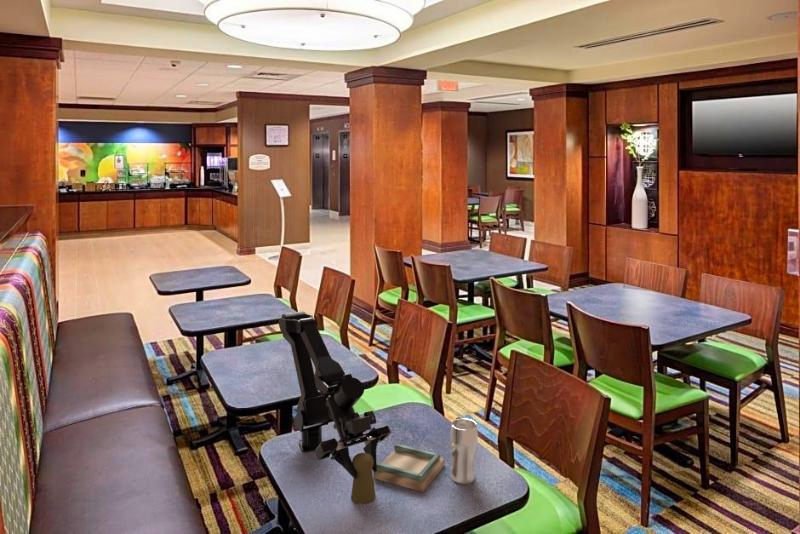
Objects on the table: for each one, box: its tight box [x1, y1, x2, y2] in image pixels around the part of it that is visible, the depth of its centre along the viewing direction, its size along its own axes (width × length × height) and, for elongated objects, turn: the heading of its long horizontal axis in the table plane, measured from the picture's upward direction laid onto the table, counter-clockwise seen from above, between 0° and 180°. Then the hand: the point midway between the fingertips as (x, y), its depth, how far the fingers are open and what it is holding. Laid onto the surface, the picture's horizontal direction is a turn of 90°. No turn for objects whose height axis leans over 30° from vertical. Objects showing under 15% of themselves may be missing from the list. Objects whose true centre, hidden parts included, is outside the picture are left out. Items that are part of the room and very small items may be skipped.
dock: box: [373, 443, 445, 493], centre depth 156 cm, size 14×14×4 cm
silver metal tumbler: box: [449, 417, 479, 485], centre depth 152 cm, size 7×7×15 cm
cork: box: [350, 452, 377, 505], centre depth 144 cm, size 6×6×11 cm
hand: (365, 475), depth 143 cm, fingers closed on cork, 5 cm apart
